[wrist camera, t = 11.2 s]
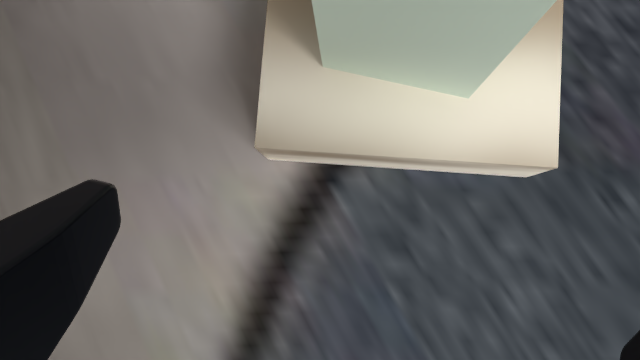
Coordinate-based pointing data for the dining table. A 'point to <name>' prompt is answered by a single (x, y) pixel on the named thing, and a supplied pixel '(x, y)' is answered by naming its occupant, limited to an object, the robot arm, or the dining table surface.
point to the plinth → (407, 107)
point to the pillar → (423, 39)
